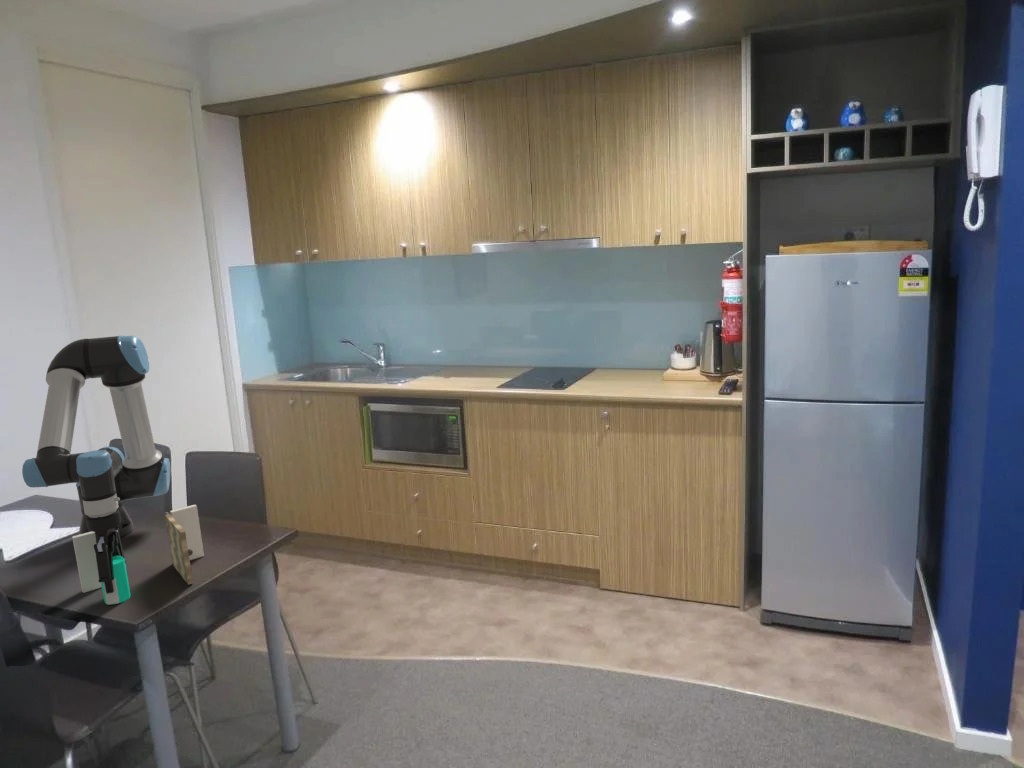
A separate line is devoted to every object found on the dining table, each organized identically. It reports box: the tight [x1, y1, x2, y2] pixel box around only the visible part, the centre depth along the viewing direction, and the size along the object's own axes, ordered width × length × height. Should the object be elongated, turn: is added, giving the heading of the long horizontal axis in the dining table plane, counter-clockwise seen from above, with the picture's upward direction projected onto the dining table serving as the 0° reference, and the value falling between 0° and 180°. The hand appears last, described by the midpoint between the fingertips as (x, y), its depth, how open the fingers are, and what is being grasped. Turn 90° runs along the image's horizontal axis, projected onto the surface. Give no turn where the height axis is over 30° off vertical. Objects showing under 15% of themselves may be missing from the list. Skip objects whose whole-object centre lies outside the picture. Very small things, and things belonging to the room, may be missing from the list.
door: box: [164, 513, 194, 585], centre depth 198 cm, size 17×3×15 cm, turn 38°
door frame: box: [71, 504, 205, 593], centre depth 200 cm, size 2×31×15 cm, turn 130°
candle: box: [101, 556, 132, 605], centre depth 186 cm, size 6×6×12 cm
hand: (117, 596), depth 187 cm, fingers open, 7 cm apart
